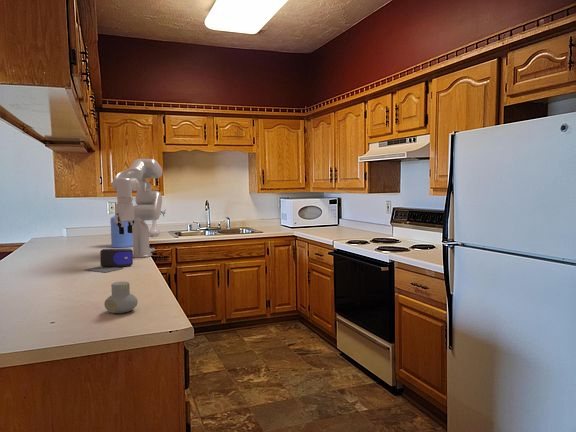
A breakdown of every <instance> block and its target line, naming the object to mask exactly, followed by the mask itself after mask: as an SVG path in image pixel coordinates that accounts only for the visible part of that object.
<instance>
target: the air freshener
mask: <svg viewBox="0 0 576 432" xmlns="http://www.w3.org/2000/svg"><path fill="white" fill-rule="evenodd" d="M130 289H131V287H130V282H129V281H116V282H113V283H112V284H111V295H109V296H108V297H107V298H106V299H105V300H104V308H105V310H107V311H108V312H110V313H112V314H114V313H120V314H124V313H125V312H126V313H129V312H131V311H133V310H134V309H135V308H136V307H137V306H138V304H139V303H138V302H139V300H138V297H136V296H135V295H134V294H132V293H131V291H130Z"/></svg>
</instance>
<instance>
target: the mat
mask: <svg viewBox="0 0 576 432" xmlns="http://www.w3.org/2000/svg"><path fill="white" fill-rule="evenodd" d="M123 269H124V268H123V267H102V266H101V265H99V266H94V267H90V268H86V269H85V268H84V269H83V270H84V271H87V272H96V273H104V274H106V273H113V272H116V271H120V270H123Z"/></svg>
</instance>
